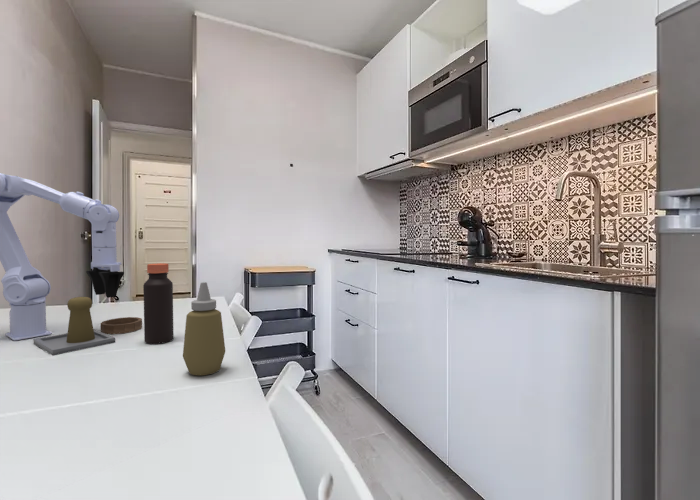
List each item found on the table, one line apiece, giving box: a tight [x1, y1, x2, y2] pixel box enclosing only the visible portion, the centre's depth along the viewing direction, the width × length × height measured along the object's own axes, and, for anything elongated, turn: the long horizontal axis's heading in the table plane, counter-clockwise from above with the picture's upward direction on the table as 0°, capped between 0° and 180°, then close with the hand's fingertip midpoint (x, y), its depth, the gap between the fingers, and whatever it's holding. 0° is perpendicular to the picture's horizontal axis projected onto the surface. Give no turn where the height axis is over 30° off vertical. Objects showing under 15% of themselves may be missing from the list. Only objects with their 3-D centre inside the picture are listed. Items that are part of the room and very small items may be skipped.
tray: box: [33, 328, 116, 356], centre depth 95 cm, size 15×13×1 cm
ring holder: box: [99, 316, 143, 335], centre depth 108 cm, size 10×10×2 cm
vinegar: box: [142, 262, 175, 345], centre depth 96 cm, size 7×7×20 cm
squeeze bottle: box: [182, 281, 226, 376], centre depth 75 cm, size 8×8×18 cm
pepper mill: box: [66, 296, 95, 343], centre depth 96 cm, size 6×6×11 cm
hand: (105, 295), depth 104 cm, fingers open, 7 cm apart
